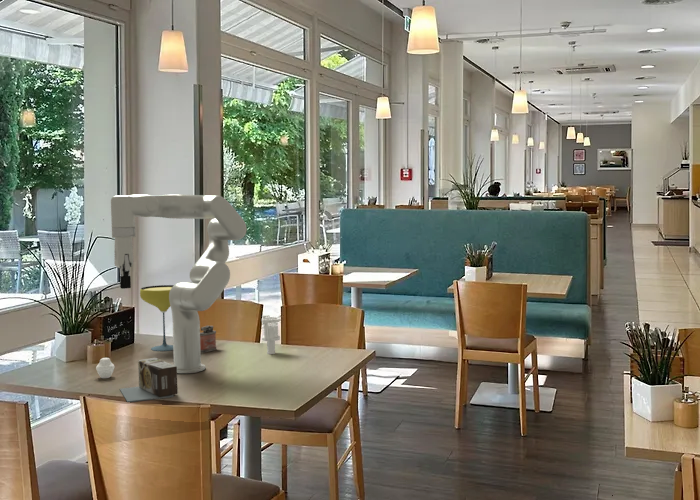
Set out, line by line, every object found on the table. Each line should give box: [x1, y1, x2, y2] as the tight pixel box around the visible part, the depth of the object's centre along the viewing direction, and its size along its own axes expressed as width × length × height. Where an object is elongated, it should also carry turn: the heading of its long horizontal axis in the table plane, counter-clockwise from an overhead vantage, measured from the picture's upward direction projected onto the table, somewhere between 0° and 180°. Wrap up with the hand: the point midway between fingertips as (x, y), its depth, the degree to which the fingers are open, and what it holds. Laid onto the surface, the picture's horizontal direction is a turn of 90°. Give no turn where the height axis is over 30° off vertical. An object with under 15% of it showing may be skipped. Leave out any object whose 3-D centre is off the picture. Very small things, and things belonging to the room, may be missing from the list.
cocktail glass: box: [139, 284, 175, 352], centre depth 312 cm, size 18×18×25 cm
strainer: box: [261, 314, 281, 355], centre depth 301 cm, size 7×7×15 cm
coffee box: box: [137, 357, 179, 397], centre depth 244 cm, size 9×6×16 cm
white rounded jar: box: [95, 357, 116, 379], centre depth 265 cm, size 6×6×7 cm
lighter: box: [200, 325, 217, 353], centre depth 308 cm, size 8×3×10 cm, turn 144°
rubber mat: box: [119, 386, 174, 403], centre depth 243 cm, size 16×14×1 cm
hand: (125, 287), depth 254 cm, fingers closed
